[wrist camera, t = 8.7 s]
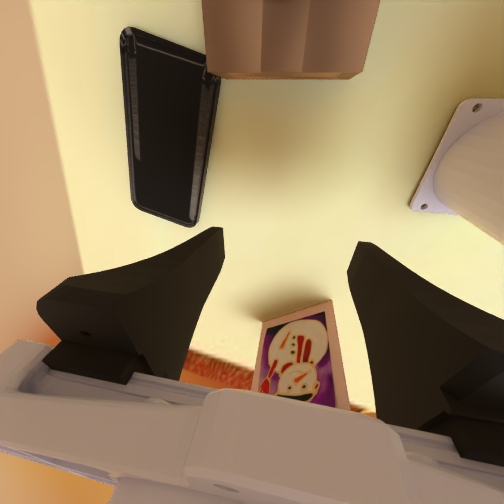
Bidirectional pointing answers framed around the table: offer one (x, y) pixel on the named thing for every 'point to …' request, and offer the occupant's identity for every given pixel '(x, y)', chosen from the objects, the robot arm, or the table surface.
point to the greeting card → (302, 358)
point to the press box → (287, 38)
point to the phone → (167, 124)
